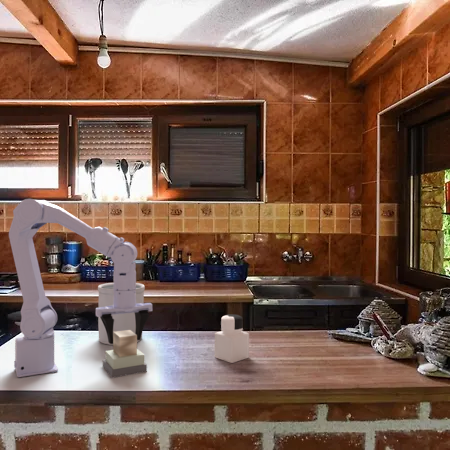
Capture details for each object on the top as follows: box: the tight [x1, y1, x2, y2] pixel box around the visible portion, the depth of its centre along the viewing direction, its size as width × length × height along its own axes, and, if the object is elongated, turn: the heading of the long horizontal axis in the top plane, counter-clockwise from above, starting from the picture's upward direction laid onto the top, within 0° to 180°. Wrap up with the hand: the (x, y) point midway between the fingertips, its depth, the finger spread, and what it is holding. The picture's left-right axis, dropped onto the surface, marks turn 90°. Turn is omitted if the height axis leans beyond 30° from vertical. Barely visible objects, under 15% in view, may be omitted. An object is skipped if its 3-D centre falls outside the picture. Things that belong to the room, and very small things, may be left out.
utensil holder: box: [97, 282, 146, 346], centre depth 143 cm, size 15×15×18 cm
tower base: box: [102, 359, 148, 379], centre depth 116 cm, size 9×9×2 cm
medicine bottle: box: [214, 313, 250, 364], centre depth 126 cm, size 7×7×12 cm
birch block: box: [112, 330, 138, 357], centre depth 116 cm, size 4×6×5 cm
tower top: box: [105, 348, 145, 369], centre depth 116 cm, size 8×8×2 cm
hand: (124, 341), depth 116 cm, fingers open, 7 cm apart
